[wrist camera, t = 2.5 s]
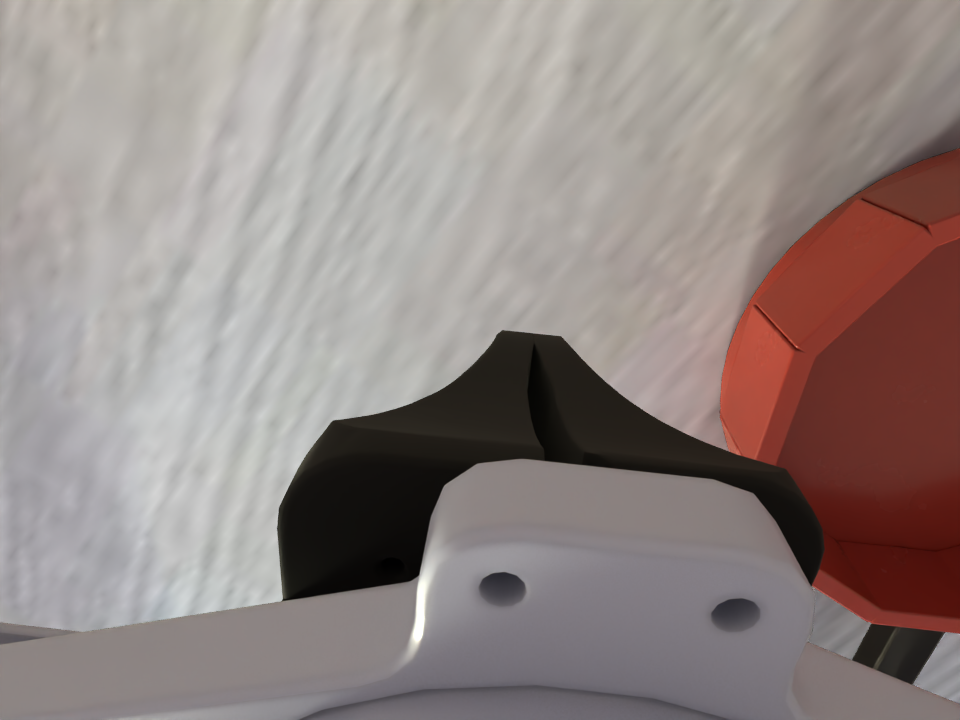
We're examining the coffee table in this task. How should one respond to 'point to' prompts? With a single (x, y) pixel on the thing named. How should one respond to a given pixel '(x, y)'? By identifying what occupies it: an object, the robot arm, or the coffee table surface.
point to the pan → (867, 403)
